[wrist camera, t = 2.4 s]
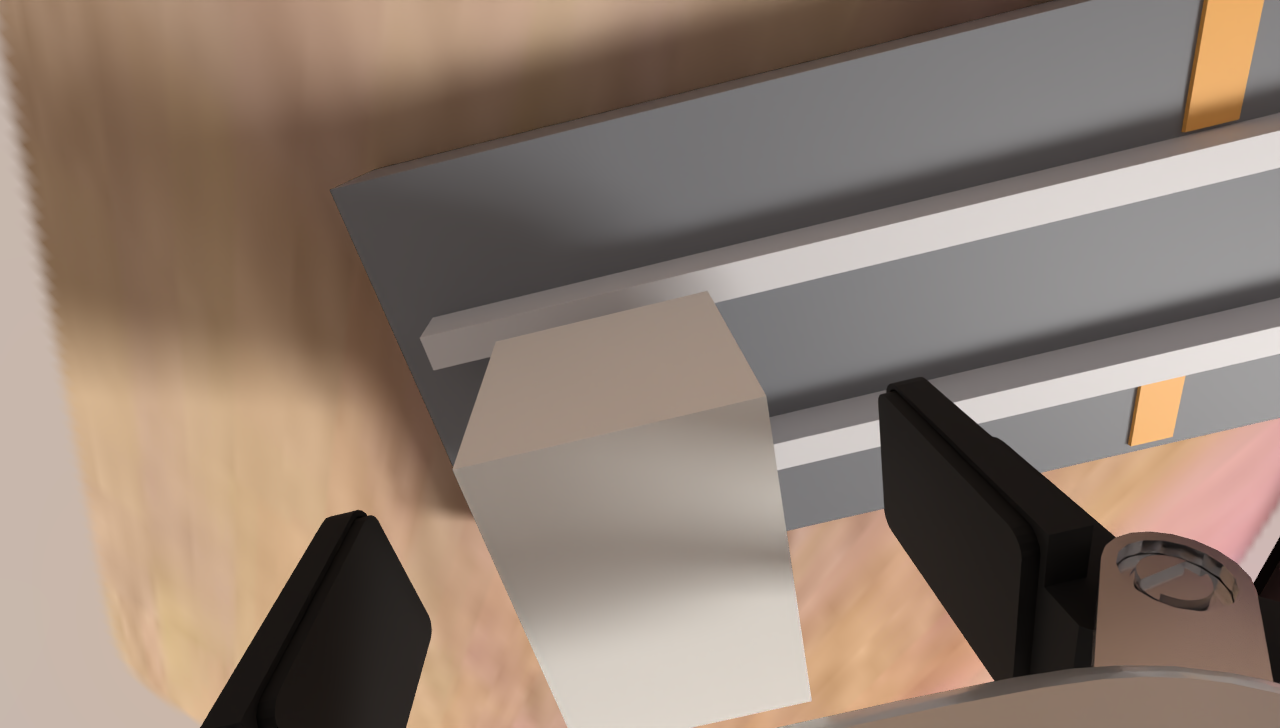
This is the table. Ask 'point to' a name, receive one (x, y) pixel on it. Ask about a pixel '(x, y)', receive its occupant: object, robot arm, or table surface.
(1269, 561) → the multiport hub
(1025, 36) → the fader console
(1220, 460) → the table surface
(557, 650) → the fader knob
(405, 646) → the robot arm
